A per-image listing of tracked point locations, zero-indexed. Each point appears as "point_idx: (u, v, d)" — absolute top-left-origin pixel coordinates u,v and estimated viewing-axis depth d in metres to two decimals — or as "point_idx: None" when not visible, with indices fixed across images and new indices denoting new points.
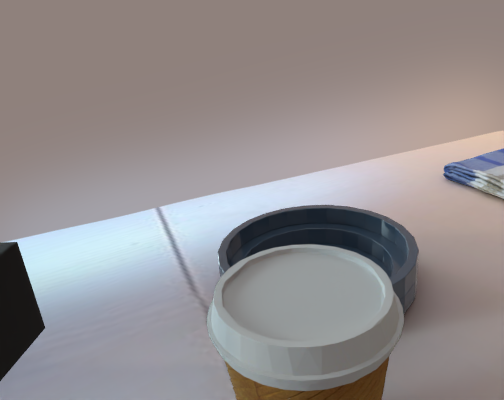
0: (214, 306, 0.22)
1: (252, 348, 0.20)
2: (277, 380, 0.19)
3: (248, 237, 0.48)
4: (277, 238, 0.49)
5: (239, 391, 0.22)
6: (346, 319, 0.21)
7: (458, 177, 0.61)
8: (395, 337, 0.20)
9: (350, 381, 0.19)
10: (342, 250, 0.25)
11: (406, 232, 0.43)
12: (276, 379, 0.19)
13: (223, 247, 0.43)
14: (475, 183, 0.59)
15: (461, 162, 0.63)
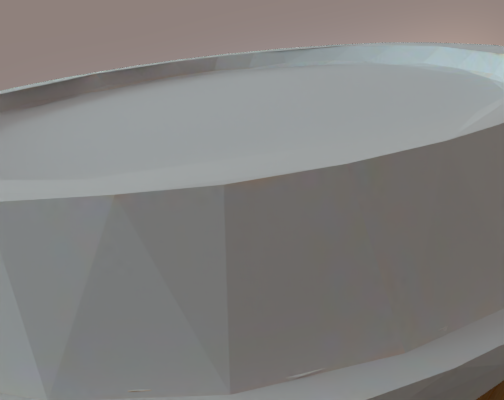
0: None
1: None
2: None
3: None
4: None
5: None
6: (375, 132, 0.04)
7: None
8: None
9: None
10: (348, 44, 0.09)
11: None
12: None
13: None
14: None
15: None
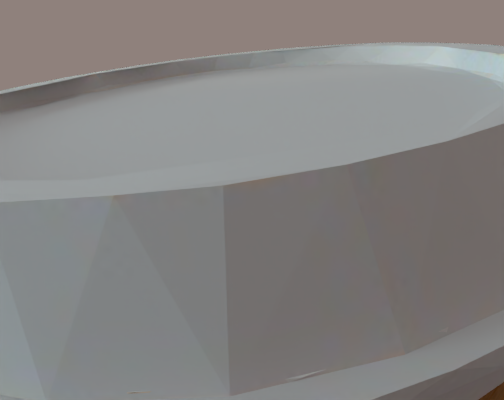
0: None
1: None
2: None
3: None
4: None
5: None
6: (375, 132, 0.04)
7: None
8: None
9: None
10: (347, 44, 0.09)
11: None
12: None
13: None
14: None
15: None
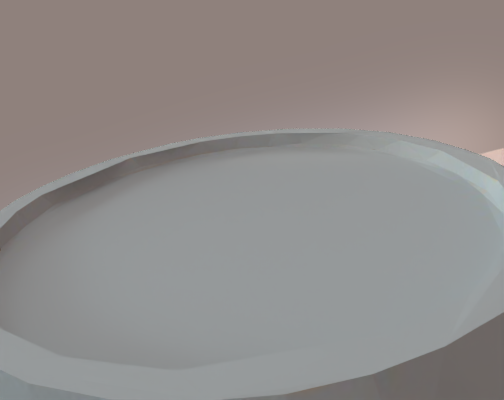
0: None
1: None
2: None
3: None
4: None
5: None
6: (388, 279, 0.06)
7: None
8: None
9: None
10: (357, 131, 0.10)
11: None
12: None
13: None
14: None
15: None
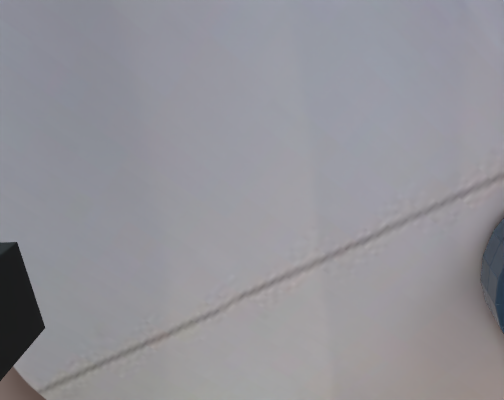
0: None
1: None
2: None
3: None
4: None
5: None
6: None
7: None
8: None
9: None
10: None
11: None
12: None
13: None
14: None
15: None
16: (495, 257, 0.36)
